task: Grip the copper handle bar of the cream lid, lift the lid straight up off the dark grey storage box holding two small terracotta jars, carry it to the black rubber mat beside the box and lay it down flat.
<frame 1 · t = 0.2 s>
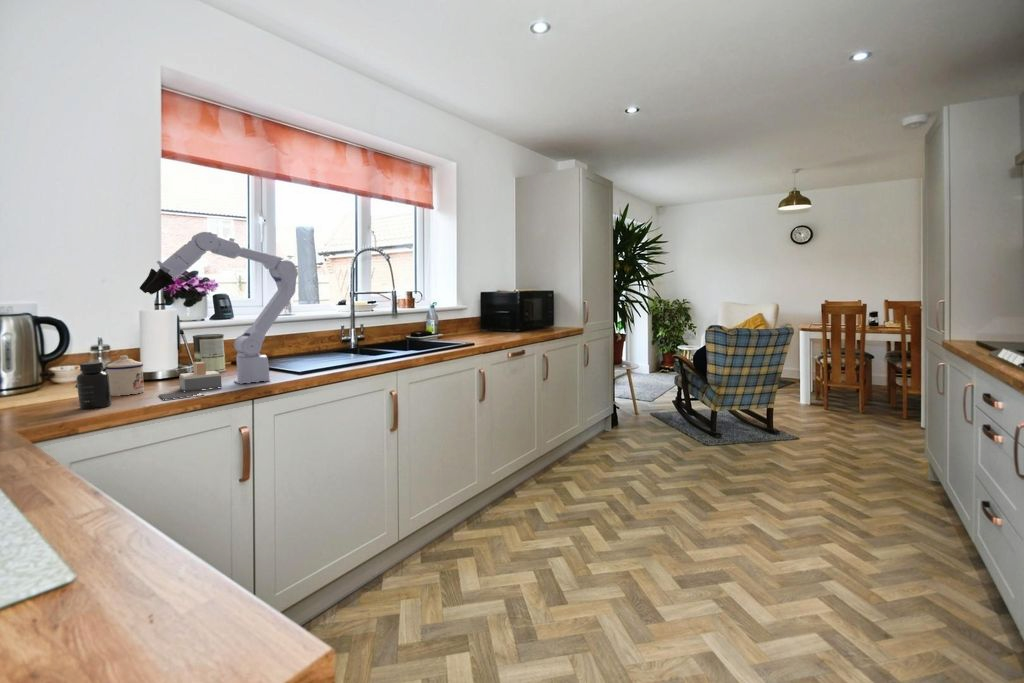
hand: (145, 291, 157), 31 cm above the countertop, tool tilted 45°, fingers open, 7 cm apart
teacup with lid: (128, 393, 161), on the countertop
box: (201, 388, 167), on the countertop
mat: (181, 395, 155), on the countertop
lid: (200, 376, 166), point 4 cm above the countertop, touching box
coffee can: (210, 372, 202), on the countertop
supplement bottle: (95, 407, 141), on the countertop
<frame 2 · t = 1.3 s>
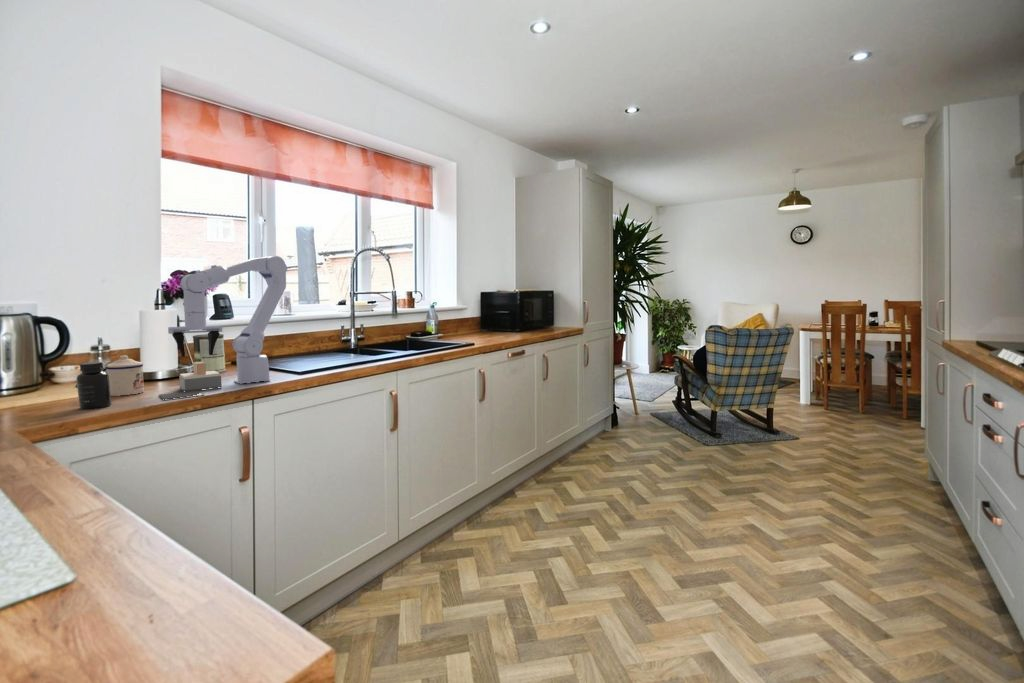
hand: (197, 355, 165), 11 cm above the countertop, tool pointing down, fingers open, 7 cm apart
nothing on the countertop moved.
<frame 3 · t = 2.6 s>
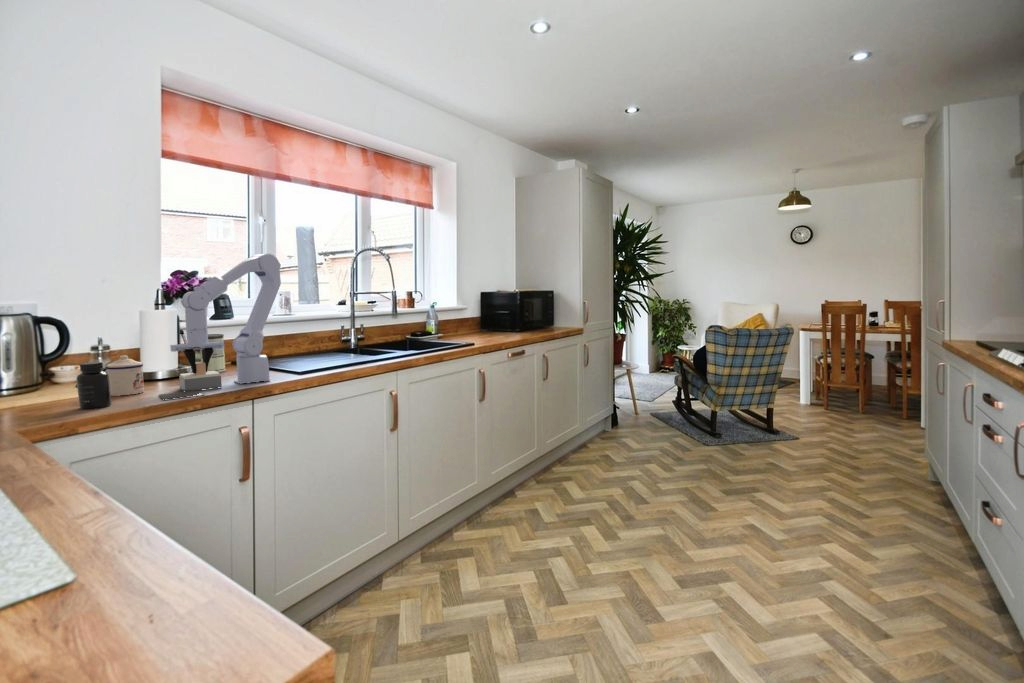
hand: (199, 372, 166), 5 cm above the countertop, tool pointing down, fingers closed on lid, 2 cm apart
lid: (200, 376, 166), point 4 cm above the countertop, touching box, gripper
everything else where it was.
when the fingers open (3 cm above the countertop, at t = 5.9 s): lid stays where it is, resting on mat.
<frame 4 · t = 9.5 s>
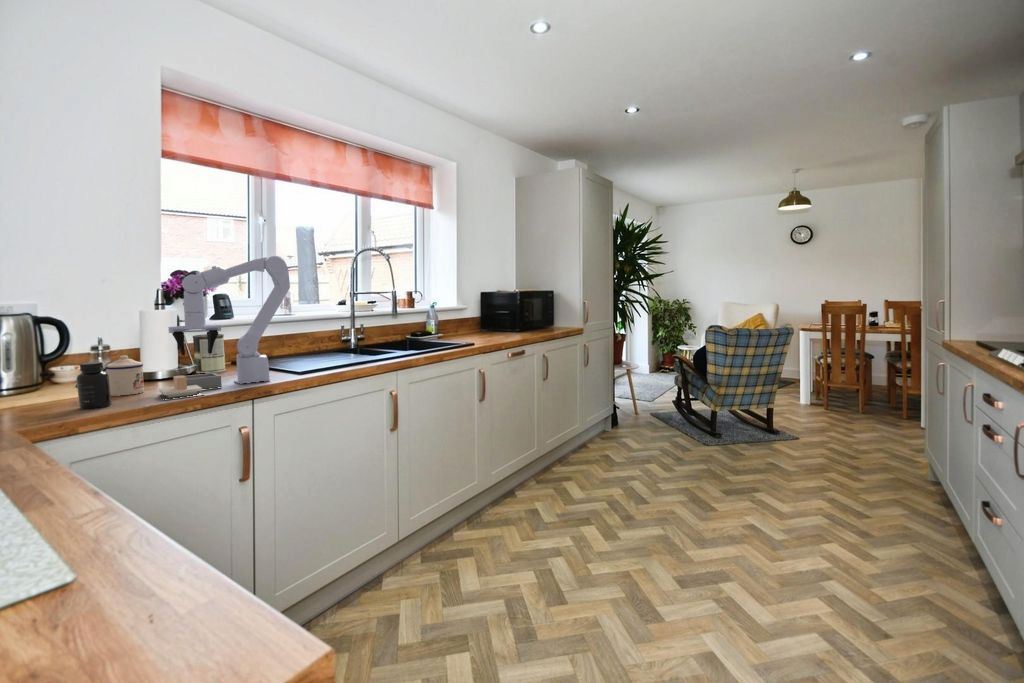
hand: (196, 354, 171), 10 cm above the countertop, tool pointing down, fingers open, 7 cm apart
lid: (180, 391, 155), point 1 cm above the countertop, touching mat
everything else where it was.
at the end: lid inside the target area on the mat (0.0 cm from its centre), point 1.4 cm above the mat's base; lid tilted 0°; the gripper is holding nothing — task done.
